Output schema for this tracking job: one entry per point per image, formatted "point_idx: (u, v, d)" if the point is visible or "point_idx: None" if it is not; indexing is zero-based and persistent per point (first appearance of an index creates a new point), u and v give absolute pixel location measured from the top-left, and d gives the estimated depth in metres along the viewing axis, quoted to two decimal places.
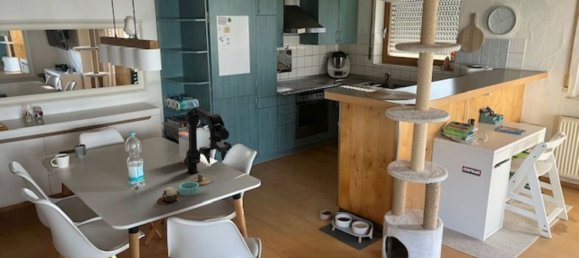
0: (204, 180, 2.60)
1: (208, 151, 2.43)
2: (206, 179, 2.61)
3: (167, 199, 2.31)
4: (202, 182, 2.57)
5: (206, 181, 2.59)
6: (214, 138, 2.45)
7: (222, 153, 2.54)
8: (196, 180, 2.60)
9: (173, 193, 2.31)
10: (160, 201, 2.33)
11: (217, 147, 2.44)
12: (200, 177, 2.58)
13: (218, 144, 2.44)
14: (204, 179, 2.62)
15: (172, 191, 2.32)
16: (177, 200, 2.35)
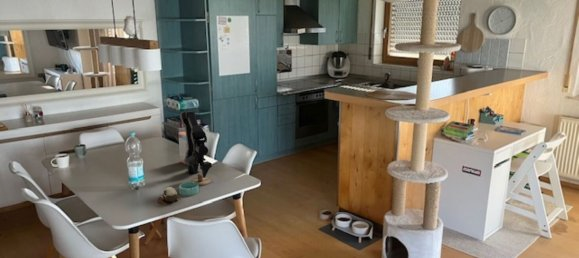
0: (204, 180, 2.60)
1: None
2: (206, 179, 2.61)
3: (167, 199, 2.31)
4: (202, 182, 2.57)
5: (206, 181, 2.59)
6: (193, 151, 2.55)
7: None
8: (196, 180, 2.60)
9: (173, 193, 2.31)
10: (160, 201, 2.33)
11: None
12: (200, 177, 2.58)
13: (189, 157, 2.53)
14: (204, 179, 2.62)
15: (172, 191, 2.32)
16: (177, 200, 2.36)
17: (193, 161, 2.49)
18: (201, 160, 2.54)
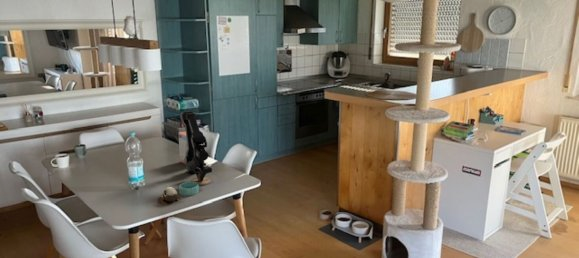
0: (204, 180, 2.60)
1: None
2: (206, 179, 2.61)
3: (167, 199, 2.31)
4: (202, 182, 2.57)
5: (206, 181, 2.59)
6: (194, 156, 2.56)
7: None
8: (196, 180, 2.60)
9: (173, 193, 2.32)
10: (160, 201, 2.33)
11: None
12: None
13: (189, 162, 2.54)
14: (204, 179, 2.62)
15: (172, 191, 2.32)
16: (177, 200, 2.36)
17: (193, 166, 2.50)
18: (201, 165, 2.55)
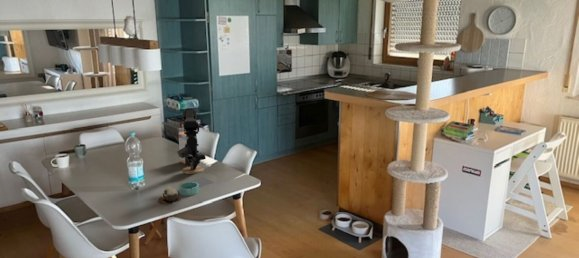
0: (197, 168, 2.49)
1: None
2: (200, 168, 2.50)
3: (168, 198, 2.32)
4: (195, 170, 2.46)
5: (199, 169, 2.48)
6: None
7: None
8: (189, 168, 2.49)
9: (174, 192, 2.32)
10: (161, 200, 2.34)
11: None
12: None
13: (181, 149, 2.43)
14: (197, 167, 2.51)
15: (173, 190, 2.33)
16: (178, 199, 2.36)
17: (186, 153, 2.38)
18: (194, 152, 2.44)
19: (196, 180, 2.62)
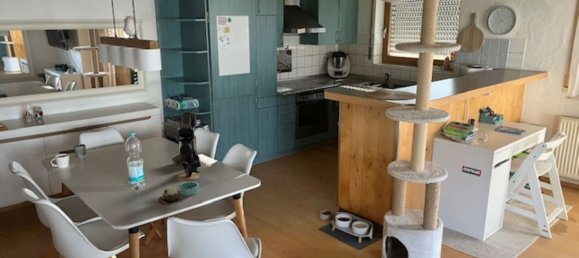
0: (192, 175, 2.45)
1: None
2: (195, 175, 2.46)
3: (168, 198, 2.32)
4: (190, 177, 2.42)
5: (194, 176, 2.43)
6: None
7: None
8: (184, 175, 2.45)
9: (174, 192, 2.32)
10: (161, 200, 2.34)
11: None
12: None
13: (176, 156, 2.38)
14: (193, 174, 2.46)
15: (173, 190, 2.33)
16: (178, 199, 2.37)
17: (180, 160, 2.34)
18: (189, 159, 2.39)
19: (196, 180, 2.62)
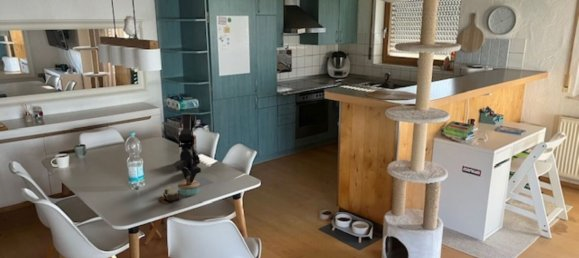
0: (193, 183, 2.46)
1: None
2: (195, 183, 2.47)
3: (168, 198, 2.32)
4: (191, 185, 2.43)
5: (195, 184, 2.45)
6: None
7: None
8: (184, 183, 2.46)
9: (174, 192, 2.33)
10: (161, 200, 2.34)
11: None
12: (188, 180, 2.43)
13: (177, 162, 2.39)
14: (193, 182, 2.48)
15: (173, 190, 2.33)
16: (178, 199, 2.37)
17: (181, 166, 2.35)
18: (190, 165, 2.40)
19: (196, 180, 2.62)
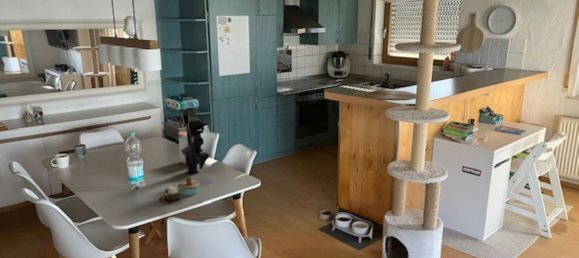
0: (193, 183, 2.46)
1: None
2: (195, 183, 2.47)
3: (169, 198, 2.33)
4: (191, 185, 2.43)
5: (195, 184, 2.45)
6: (190, 142, 2.49)
7: None
8: (184, 183, 2.46)
9: (175, 191, 2.33)
10: (162, 200, 2.35)
11: None
12: (188, 180, 2.43)
13: (186, 148, 2.48)
14: (193, 182, 2.48)
15: (174, 190, 2.34)
16: (178, 198, 2.37)
17: (189, 152, 2.43)
18: (198, 151, 2.49)
19: (196, 180, 2.62)
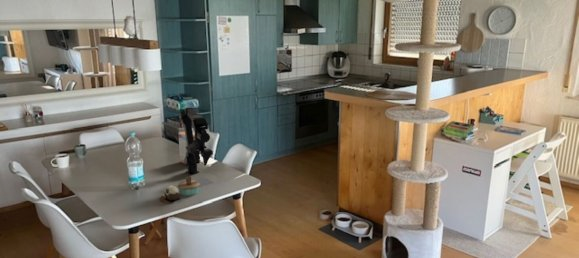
0: (193, 183, 2.46)
1: None
2: (195, 183, 2.47)
3: (170, 197, 2.33)
4: (191, 185, 2.43)
5: (195, 184, 2.45)
6: None
7: None
8: (184, 183, 2.46)
9: (175, 191, 2.34)
10: (162, 199, 2.35)
11: None
12: (188, 180, 2.43)
13: (190, 144, 2.52)
14: (193, 182, 2.48)
15: (174, 189, 2.34)
16: None
17: (194, 148, 2.48)
18: (202, 147, 2.53)
19: (196, 180, 2.62)
